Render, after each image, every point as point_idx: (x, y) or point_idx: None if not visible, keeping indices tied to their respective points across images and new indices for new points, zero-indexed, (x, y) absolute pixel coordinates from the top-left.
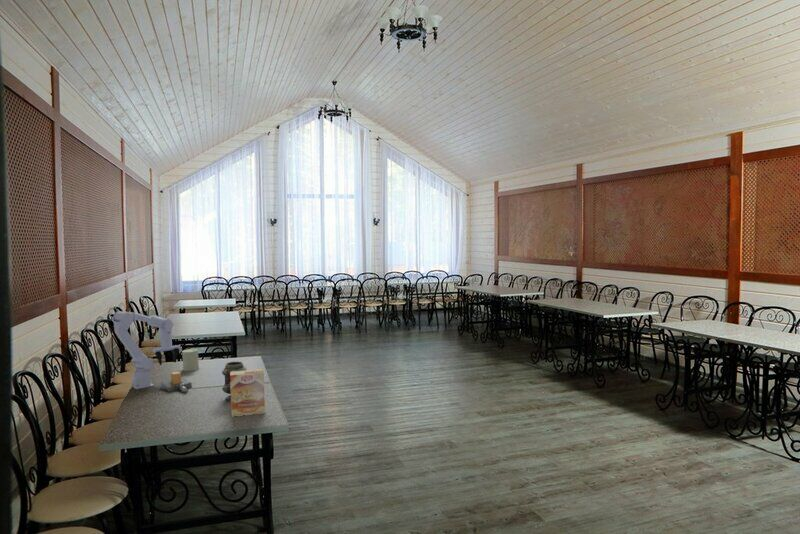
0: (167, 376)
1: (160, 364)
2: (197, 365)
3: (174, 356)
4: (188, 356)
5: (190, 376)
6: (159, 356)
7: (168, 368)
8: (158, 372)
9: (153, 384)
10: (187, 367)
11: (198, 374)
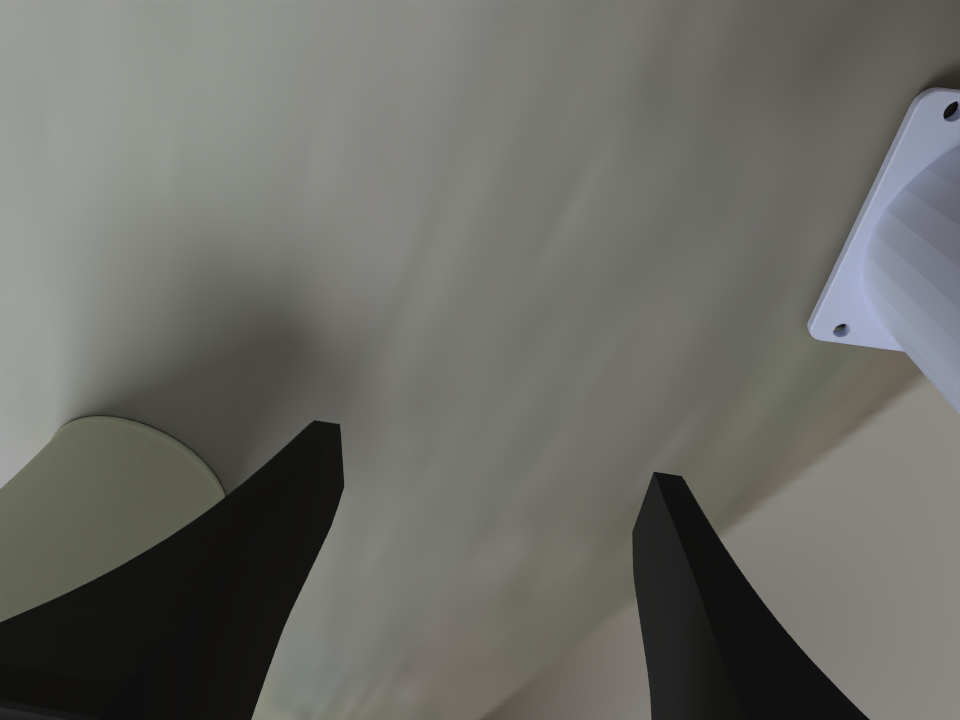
0: (456, 432)
1: (686, 485)
2: (32, 460)
3: (265, 550)
4: (29, 604)
5: (199, 184)
6: (816, 703)
7: (333, 638)
8: (458, 609)
9: (901, 145)
10: (161, 481)
11: (72, 193)
